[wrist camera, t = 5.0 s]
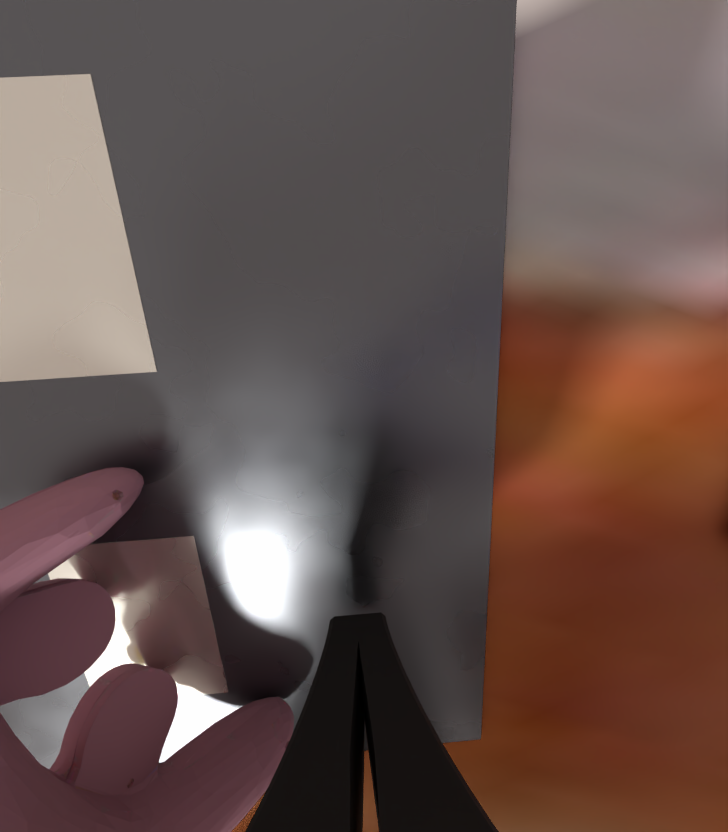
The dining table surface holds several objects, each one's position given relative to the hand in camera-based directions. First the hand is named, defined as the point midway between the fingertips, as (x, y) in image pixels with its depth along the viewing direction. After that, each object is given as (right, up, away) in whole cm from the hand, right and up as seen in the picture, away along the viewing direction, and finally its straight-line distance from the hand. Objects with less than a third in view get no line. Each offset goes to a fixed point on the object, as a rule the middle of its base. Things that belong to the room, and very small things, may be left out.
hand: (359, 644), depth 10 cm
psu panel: (-7, +5, 0) cm, 8 cm away
